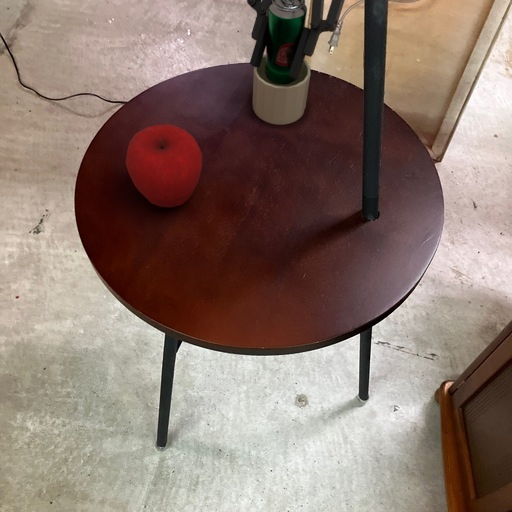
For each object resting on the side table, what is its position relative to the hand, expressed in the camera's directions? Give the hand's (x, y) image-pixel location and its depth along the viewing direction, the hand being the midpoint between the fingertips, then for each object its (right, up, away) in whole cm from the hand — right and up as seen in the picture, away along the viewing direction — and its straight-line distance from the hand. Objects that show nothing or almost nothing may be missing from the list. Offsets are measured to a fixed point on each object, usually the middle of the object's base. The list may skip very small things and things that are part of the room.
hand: (273, 71), depth 76 cm
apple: (-14, -17, 0) cm, 22 cm away
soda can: (+1, +1, +5) cm, 5 cm away
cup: (+1, -2, +10) cm, 10 cm away
